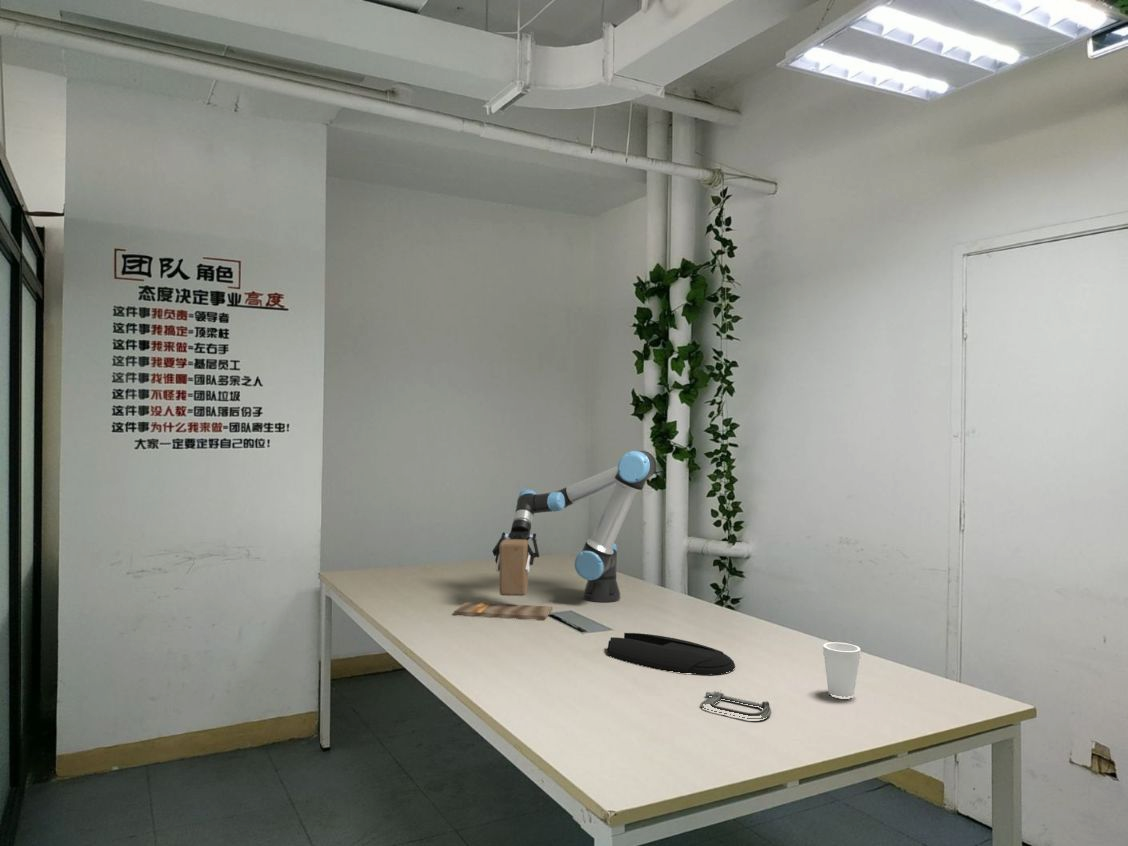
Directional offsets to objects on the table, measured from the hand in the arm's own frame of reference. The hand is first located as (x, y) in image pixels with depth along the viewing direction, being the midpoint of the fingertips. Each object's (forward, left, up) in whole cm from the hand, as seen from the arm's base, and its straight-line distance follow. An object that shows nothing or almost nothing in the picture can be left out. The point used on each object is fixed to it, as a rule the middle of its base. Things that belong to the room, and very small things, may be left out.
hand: (512, 570), depth 308 cm
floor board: (+2, +4, -15) cm, 16 cm away
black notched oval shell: (-62, +50, -16) cm, 81 cm away
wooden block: (0, -3, -9) cm, 10 cm away
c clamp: (-79, +90, -16) cm, 121 cm away
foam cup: (-107, +75, -15) cm, 132 cm away
